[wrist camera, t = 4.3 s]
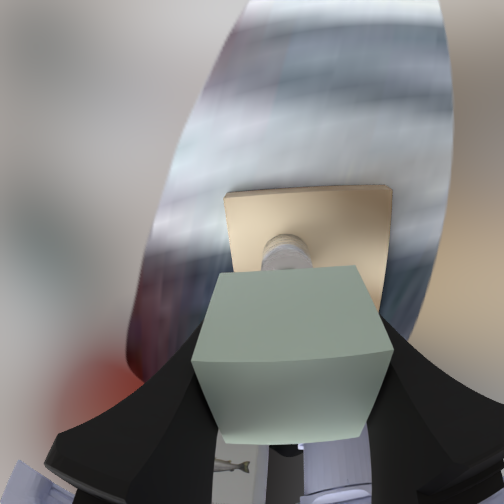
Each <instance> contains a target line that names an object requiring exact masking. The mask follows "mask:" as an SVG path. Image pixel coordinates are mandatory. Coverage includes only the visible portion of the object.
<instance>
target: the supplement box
mask: <svg viewBox="0 0 504 504" xmlns="http://www.w3.org/2000/svg"><path fill="white" fill-rule="evenodd" d="M268 452H269V445H255V444H230V443H225V441H224V439H223V437H222V435H221V432H220V430H219V429H218V435H217V442H216V451H215V461H214V473H213V487H212V504H265V497H266V483H267V468H268Z"/></svg>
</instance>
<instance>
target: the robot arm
mask: <svg viewBox="0 0 504 504" xmlns="http://www.w3.org/2000/svg"><path fill="white" fill-rule="evenodd" d="M378 314H379V313H378ZM379 316H380V318H381V320H382V323H383V325H384V327H385V330H386V332H387V334H388V337H389V339H390V341H391V344H392V346H393V348H394V351H393V354H392V357H391V360H390V363H389V366H388V369H387V372H386V375H385V377H384V380H383V383H382V385H381V388H380V390H379V393H378V395H377V398H376V400H375V403H374V405H373V408H372V410H371V412H370V414H369V417H368V419H367V421H366V423H365V425H364V428H363V430H362V432H361V434H360V436H359V437H356V438H349V439H342V440H334V441H325V442H315V443H301V444H298V449H304V496H302V497H300V503H296V504H504V476H503V477H502V473H501V470H502V469H503V468H504V461H503V458H504V404H501V403H498V402H496V401H494V400H492V399H489V398H487V397H485V396H483V395H481V394H479V393H477V392H475V391H473V390H472V389H470V388H468V387H466V386H465V385H463V384H462V383H460V382H458V381H457V380H455V379H453V378H452V377H450V376H449V375H448V374H446V373H445V372H443V371H442V370H441V369H439V368H438V367H437V366H435V365H434V364H433V363H431V362H430V361H429V360H427V359H426V358H425V357H424V356H423V355H422V354H421V353H419V352H418V351H417V350H416V349H414V347H413V346H412V345H410V344H409V343H408V342H407V341H406V340H405V339H404V338H403V337H402V336H401V335H400V334H399V333H398V332H397V331H396V330H395V329H394V328H393V327H392V326H391V325H390V324H389V323H388V322H387V321H386V320H385V319H384V318H383V317H382V316H381V315H380V314H379ZM204 319H205V318H204ZM203 322H204V320H203V321H202V322H201V323H200V324H199V326H198V327H197V328H196V329H195V331H194V332H193V333H192V334H191V336H190V337H189V338H188V339H187V340H186V342H185V343H184V344H183V345H182V346H181V347H180V348H179V350H178V351H177V352H176V353H175V354H174V355H173V356H172V357H171V358H170V360H169V361H168V362H167V363H166V364H165V365H164V366H163V367H162V368H161V369H160V370H159V371H158V372H157V373H156V374H155V375H154V376H153V377H151V378H150V379H149V380H148V381H147V382H146V383H145V384H144V385H143V386H141V387H140V388H139V389H137V390H136V391H135V392H134V393H132V394H131V395H130V396H128V397H127V398H125V399H124V400H122V401H121V402H119V403H118V404H117V405H115V406H114V407H112V408H111V409H109V410H107V411H106V412H104V413H102V414H101V415H99V416H97V417H95V418H93V419H91V420H89V421H87V422H85V423H83V424H81V425H79V426H76V427H74V428H72V429H69V430H67V431H64V432H62V433H59V434H58V435H57V437H56V439H55V441H54V443H53V445H52V447H51V449H50V451H49V453H48V455H47V457H46V460H45V462H44V465H45V467H46V468H47V469H48V470H50V471H51V472H52V473H54V474H55V475H57V476H59V477H60V478H61V479H63V480H64V481H66V482H68V483H69V484H71V485H73V486H74V487H76V488H78V489H77V491H76V494H75V495H74V494H73V493H71V492H68V491H67V490H65V489H63V488H61V487H60V486H58V485H56V484H55V483H53V482H52V481H51V480H49V479H48V478H46V477H45V476H43V475H41V474H40V473H39V472H37V471H36V470H34V469H32V468H31V467H30V466H28V465H27V464H25V463H24V462H22V461H21V460H18V461H17V463H16V465H15V467H14V470H13V472H12V474H11V476H10V479H9V481H8V483H7V486H6V488H5V491H4V493H3V496H2V498H1V501H0V502H1V504H212V487H213V473H214V461H215V451H216V442H217V435H218V429H219V428H218V426H217V424H216V421H215V419H214V417H213V414H212V412H211V410H210V408H209V405H208V403H207V400H206V398H205V396H204V393H203V391H202V388H201V386H200V383H199V381H198V378H197V376H196V373H195V370H194V368H193V365H192V362H191V359H192V356H193V353H194V350H195V347H196V344H197V340H198V337H199V334H200V331H201V328H202V325H203Z"/></svg>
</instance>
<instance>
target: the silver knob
mask: <svg viewBox="0 0 504 504" xmlns="http://www.w3.org/2000/svg"><path fill="white" fill-rule="evenodd" d="M303 268H313V265H312V261H311V257H310V253H309V249H308V246H307V245H306V243H305V242H304V241H303V240H302V239H301V238H299V237H298V236H295V235H292V234H281V235H277V236H275V237H273V238H272V239H270V240H269V241H268V242H267V243H266V245H265V247H264V249H263V253H262V264H261V271H270V270H287V269H303Z"/></svg>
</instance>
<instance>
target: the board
mask: <svg viewBox="0 0 504 504" xmlns="http://www.w3.org/2000/svg"><path fill="white" fill-rule="evenodd" d="M392 193H393V190H392V189H390V188H389V187H387V186H386V185H342V186H315V187H296V188H279V189H265V190H253V191H241V192H230V193H227V194H226V195H225V197H224V198H223V200H224V207H225V214H226V221H227V228H228V235H229V242H230V248H231V255H232V262H233V268H234V272H251V271H261V264H262V253H263V249H264V247H265V245H266V243H267V242H268V241H269V240H270V239H272V238H273V237H275V236H277V235H281V234H292V235H295V236H298V237H299V238H301V239H302V240H303V241H304V242H305V243H306V245H307V246H308V249H309V253H310V257H311V261H312V265H313V268H319V267H334V266H348V265H355V266H356V268H357V270H358V272H359V274H360V276H361V278H362V280H363V282H364V284H365V286H366V288H367V290H368V292H369V294H370V296H371V298H372V301H373V303H374V305H375V307H376V309H377V311H378V312H379V307H380V301H381V296H382V290H383V284H384V277H385V270H386V263H387V255H388V246H389V236H390V225H391V212H392Z"/></svg>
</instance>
